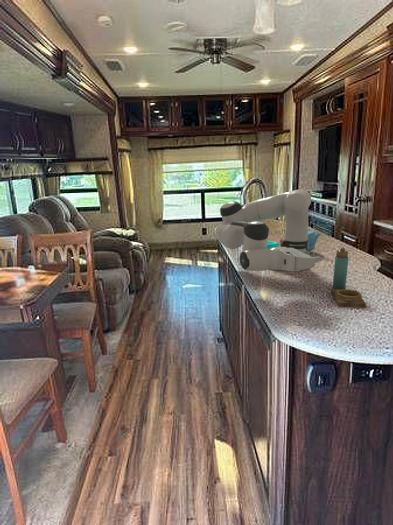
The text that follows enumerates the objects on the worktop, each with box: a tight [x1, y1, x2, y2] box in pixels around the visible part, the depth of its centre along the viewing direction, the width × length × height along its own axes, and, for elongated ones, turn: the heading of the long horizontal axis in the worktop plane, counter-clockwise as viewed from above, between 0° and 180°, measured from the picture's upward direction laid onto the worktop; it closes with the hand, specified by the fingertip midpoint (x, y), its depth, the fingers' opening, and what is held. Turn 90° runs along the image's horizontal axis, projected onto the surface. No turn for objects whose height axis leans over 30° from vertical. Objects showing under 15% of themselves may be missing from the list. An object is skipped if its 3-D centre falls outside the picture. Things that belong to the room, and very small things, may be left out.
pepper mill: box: [332, 247, 350, 289], centre depth 145 cm, size 5×5×18 cm
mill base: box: [330, 288, 367, 309], centre depth 135 cm, size 10×15×3 cm, turn 168°
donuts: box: [267, 240, 280, 249], centre depth 195 cm, size 10×10×10 cm
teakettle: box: [282, 227, 324, 253], centre depth 210 cm, size 19×19×15 cm
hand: (314, 256), depth 140 cm, fingers open, 8 cm apart
